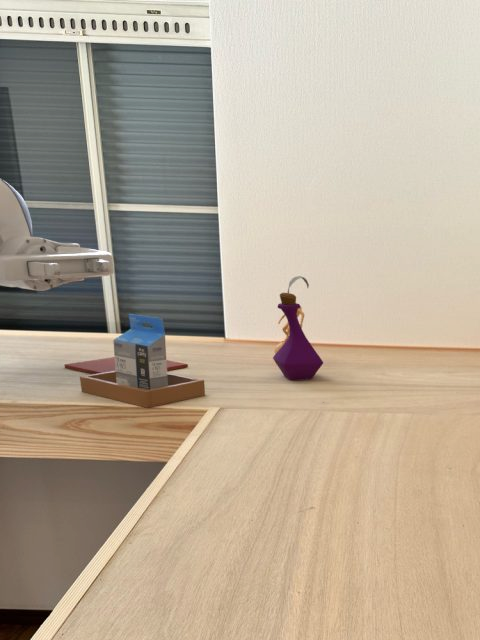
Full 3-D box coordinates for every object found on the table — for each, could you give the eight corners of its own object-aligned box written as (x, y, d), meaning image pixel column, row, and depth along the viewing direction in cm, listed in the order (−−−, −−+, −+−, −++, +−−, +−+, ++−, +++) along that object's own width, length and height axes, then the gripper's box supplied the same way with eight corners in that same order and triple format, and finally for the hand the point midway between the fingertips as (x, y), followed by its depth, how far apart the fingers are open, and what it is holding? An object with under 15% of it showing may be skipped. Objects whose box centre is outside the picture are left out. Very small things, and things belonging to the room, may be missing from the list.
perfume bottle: (284, 382, 130) (281, 277, 124) (273, 374, 137) (270, 274, 130) (323, 380, 133) (323, 277, 127) (310, 372, 140) (310, 274, 133)
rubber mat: (118, 379, 129) (117, 376, 129) (64, 367, 137) (64, 364, 137) (188, 367, 141) (187, 364, 141) (135, 356, 149) (134, 354, 149)
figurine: (265, 359, 151) (264, 299, 146) (290, 357, 154) (289, 298, 150) (287, 366, 145) (286, 304, 141) (312, 363, 149) (312, 302, 144)
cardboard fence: (147, 407, 111) (146, 391, 110) (81, 391, 119) (79, 376, 118) (205, 395, 120) (204, 380, 119) (140, 380, 128) (138, 366, 127)
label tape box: (116, 391, 120) (107, 314, 116) (136, 387, 123) (129, 312, 119) (150, 399, 116) (143, 320, 111) (171, 395, 119) (165, 318, 114)
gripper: (-30, 246, 117) (18, 249, 110) (82, 243, 133) (131, 246, 126) (-22, 286, 120) (25, 293, 113) (87, 279, 135) (135, 284, 128)
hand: (82, 268), depth 119 cm, fingers open, 8 cm apart
